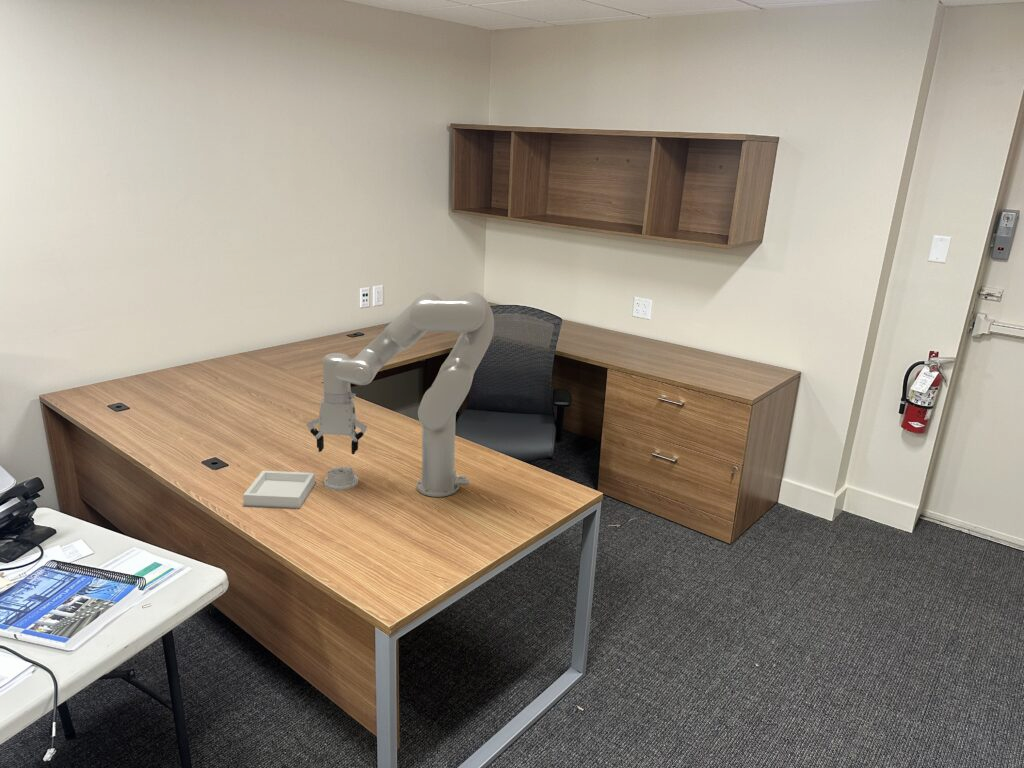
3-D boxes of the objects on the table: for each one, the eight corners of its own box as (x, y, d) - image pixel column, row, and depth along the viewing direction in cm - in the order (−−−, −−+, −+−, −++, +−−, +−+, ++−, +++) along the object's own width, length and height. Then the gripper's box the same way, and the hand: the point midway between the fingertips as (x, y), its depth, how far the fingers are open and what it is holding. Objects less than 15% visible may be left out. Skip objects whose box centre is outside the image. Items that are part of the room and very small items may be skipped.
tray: (315, 482, 212) (314, 473, 211) (299, 507, 197) (299, 497, 196) (263, 480, 212) (262, 470, 211) (244, 505, 197) (243, 494, 196)
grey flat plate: (316, 482, 213) (316, 481, 213) (299, 510, 197) (299, 509, 196) (264, 480, 213) (264, 479, 213) (242, 507, 197) (242, 506, 197)
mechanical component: (365, 484, 214) (344, 474, 220) (365, 470, 212) (343, 460, 218) (338, 495, 206) (317, 484, 212) (337, 481, 205) (316, 471, 211)
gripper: (369, 394, 208) (369, 448, 213) (310, 390, 208) (311, 444, 213) (364, 403, 201) (364, 458, 206) (302, 398, 201) (304, 454, 206)
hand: (337, 451), depth 210 cm, fingers open, 9 cm apart
